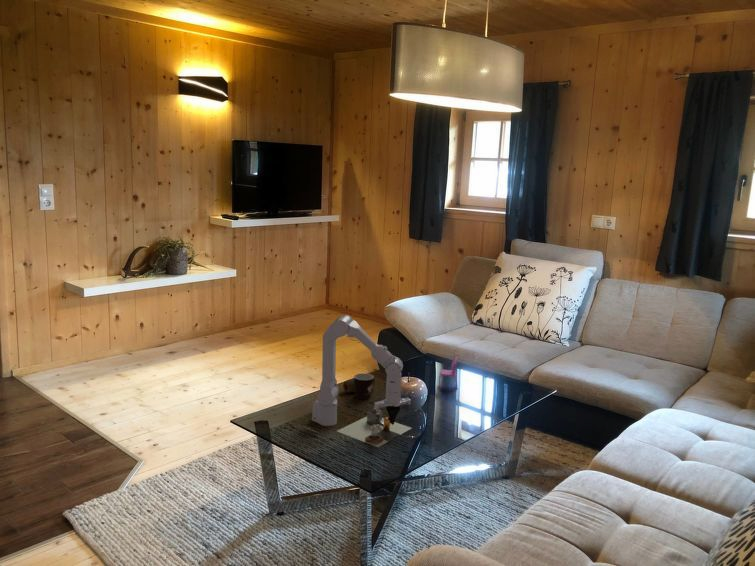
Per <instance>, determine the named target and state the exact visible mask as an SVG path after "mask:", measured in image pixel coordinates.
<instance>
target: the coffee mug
mask: <svg viewBox="0 0 755 566" xmlns="http://www.w3.org/2000/svg"><path fill="white" fill-rule="evenodd" d="M353 378H354V384H355V392H354V393H355V398H356V399H359V400H368V399H370V398H371V395H372V390H373V389H372V384H373V382H374V378H375V376H374V375H373V374H369V373H364V372H362V373H356V374H354V375H353Z"/></svg>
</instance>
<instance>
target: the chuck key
mask: <svg viewBox="0 0 755 566" xmlns="http://www.w3.org/2000/svg"><path fill="white" fill-rule="evenodd" d="M378 427H379V425H372V428H371V430H372V431H371V439H373V440H377V439H378Z"/></svg>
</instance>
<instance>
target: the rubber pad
mask: <svg viewBox="0 0 755 566" xmlns="http://www.w3.org/2000/svg"><path fill="white" fill-rule="evenodd" d="M378 435H379V436H382V437H384V438H383V439H384V440H387V441H388V442H390V441H392V440H394V439H395V438H397V437H399V436H401V435H400V434H398V433H395V432H392V431H385V430H382V431H380V432H378ZM393 438H394V439H393Z"/></svg>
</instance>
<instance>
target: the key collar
mask: <svg viewBox="0 0 755 566" xmlns="http://www.w3.org/2000/svg"><path fill="white" fill-rule="evenodd" d="M383 438H384V437H382V436H379V435H378V439H377V440H373V439H371V435H369V436H367V437H365V441H366V442H368V443H371V444H374V445H377V444H379V443H380V442H382V441H383ZM366 442H365V443H366ZM368 443H367V444H368ZM371 444H370V445H371Z"/></svg>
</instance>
